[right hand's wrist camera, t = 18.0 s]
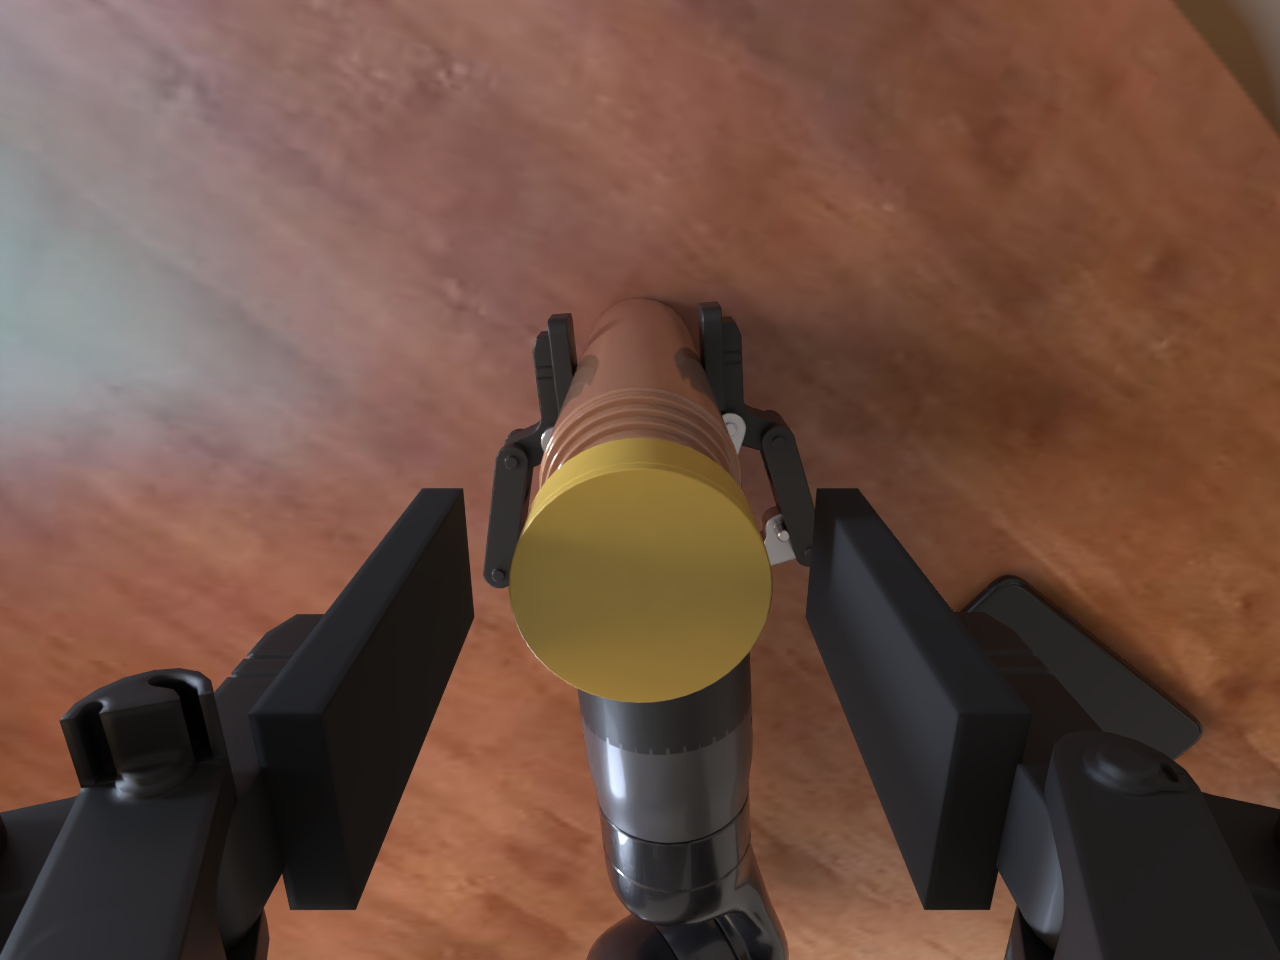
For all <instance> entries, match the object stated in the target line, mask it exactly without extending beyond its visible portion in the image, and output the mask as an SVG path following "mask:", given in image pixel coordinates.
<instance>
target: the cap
mask: <svg viewBox="0 0 1280 960" xmlns="http://www.w3.org/2000/svg"><path fill="white" fill-rule="evenodd" d="M772 582H773V579H772V571H771V564H770V560H769V557H768V553H767V550H766V547H765V544H764V541H763V539H762V536H761V533H760V530H759V528H758V525H757V522H756V520H755V517H754V514H753V512H752V509H751V507H750V505H749V503H748V500H747V498H746V496H745V495H744V493H743V492H742V490H741V488H740V487H739V485H738V484H737V483H736V482H735V481H734V479H733V478H732V477H731V476H730V475H729V474H728V473H727V472H726V471H725V470H724V469H723V468H722V467H721V466H720V465H718V464H717V463H716V462H714V461H713V460H711V459H710V458H708V457H707V456H706V455H704V454H702V453H700V452H698V451H696V450H694V449H692V448H690V447H687V446H684V445H681V444H678V443H676V442H671V441H666V440H662V439H653V438H626V439H620V440H615V441H610V442H606V443H603V444H600V445H597V446H594V447H592V448H590V449H587V450H585V451H583V452H581V453H579V454H578V455H576V456H575V457H573V458H571V459H570V460H568V461H567V462H566V463H564V464H563V465H562V466H561V467H560V468H558V469H557V470H556V471H555V472H554V473H553V474H552V475H551V476H550V477H549V478H548V480H547V481H546V482H545V483H544V485H543V486H542V488H541V489H540V490H539V492H538V493H537V495H536V497H535V499H534V501H533V503H532V505H531V507H530V510H529V513H528V515H527V518H526V521H525V524H524V526H523V529H522V532H521V535H520V538H519V540H518V543H517V546H516V549H515V552H514V555H513V558H512V562H511V568H510V573H509V595H510V603H511V608H512V612H513V615H514V619H515V622H516V624H517V626H518V629H519V631H520V633H521V635H522V637H523V638H524V640H525V642H526V643H527V645H528V647H529V648H530V649H531V651H532V652H533V653H534V654H535V656H536V657H537V658H538V659H539V660H540V661H541V662H542V663H543V664H544V665H545V666H546V667H547V668H548V669H549V670H550V671H551V672H553V673H554V674H555V675H557V676H558V677H559V678H561V679H562V680H564V681H565V682H567V683H569V684H571V685H572V686H574V687H576V688H578V689H580V690H583V691H585V692H587V693H590V694H592V695H596V696H599V697H602V698H606V699H611V700H616V701H621V702H635V703H645V702H659V701H665V700H671V699H675V698H679V697H683V696H686V695H689V694H691V693H694V692H697V691H699V690H701V689H703V688H705V687H707V686H709V685H711V684H713V683H715V682H716V681H718V680H719V679H721V678H722V677H723V676H725V675H726V674H728V673H729V672H730V671H731V670H732V669H733V668H735V667H736V666H737V665H738V664H739V663H740V662H741V661H742V660H743V658H744V657H745V656H746V655H747V654H748V653H749V652H750V650H751V649H752V647H753V646H754V644H755V643H756V641H757V640H758V638H759V636H760V634H761V632H762V630H763V628H764V625H765V623H766V620H767V617H768V614H769V610H770V605H771V599H772Z"/></svg>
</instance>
